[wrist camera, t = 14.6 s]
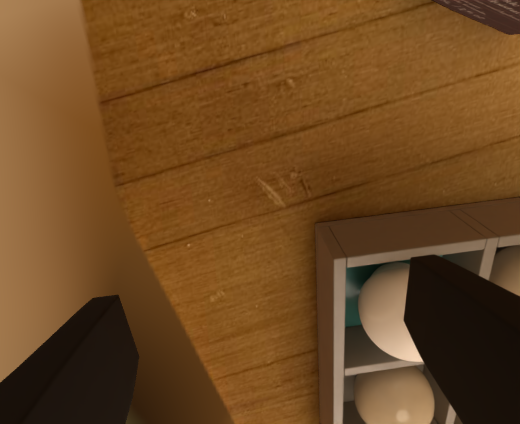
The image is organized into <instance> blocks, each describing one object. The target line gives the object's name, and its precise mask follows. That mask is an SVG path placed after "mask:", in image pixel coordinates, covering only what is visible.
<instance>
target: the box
mask: <svg viewBox="0 0 520 424" xmlns="http://www.w3.org/2000/svg"><path fill="white" fill-rule="evenodd" d="M433 1H435V2H437V3H439V4H441V5H443V6H445V7H447V8H449V9H451V10H453V11H456V12H458V13H460V14H462V15H464V16H467V17H469V18H471V19H473V20H476V21H479V22H481V23H483V24H485V25H488V26H490V27H493V28H495V29H497V30H499V31H502V32H504V33H506V34H509V35H513V34H520V0H433Z"/></svg>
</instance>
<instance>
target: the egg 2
mask: <svg viewBox="0 0 520 424" xmlns="http://www.w3.org/2000/svg"><path fill="white" fill-rule="evenodd" d="M489 281H491V282H493V283H494V284H496V285H498V286H500V287H502V288H504V289H506V290H508V291H510V292H512V293H514V294H516V295H518V296H520V245H512V246H507V247H505V248H503V249H502V250H500V251H498V252H497V253H496V254H495V256H494V260H493V264H492V268H491V272H490V276H489Z"/></svg>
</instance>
